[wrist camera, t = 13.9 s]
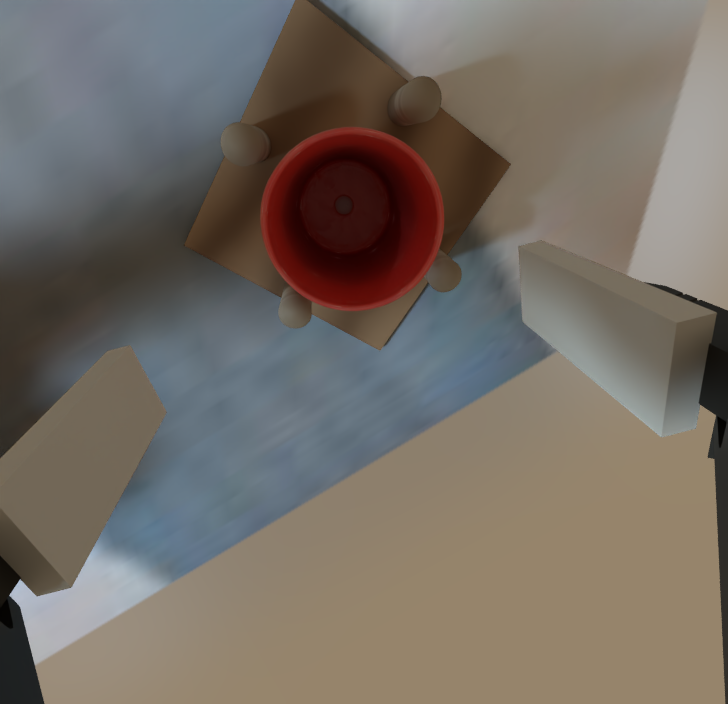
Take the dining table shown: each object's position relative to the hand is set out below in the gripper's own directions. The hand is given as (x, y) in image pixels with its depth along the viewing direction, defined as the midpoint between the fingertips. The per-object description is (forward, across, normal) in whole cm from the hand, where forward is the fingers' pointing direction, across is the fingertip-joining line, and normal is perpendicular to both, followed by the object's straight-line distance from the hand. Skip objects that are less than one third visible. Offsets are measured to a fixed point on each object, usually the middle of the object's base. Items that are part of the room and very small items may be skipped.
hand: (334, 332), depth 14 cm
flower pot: (+22, +2, +1) cm, 22 cm away
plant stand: (+23, +2, +1) cm, 23 cm away
